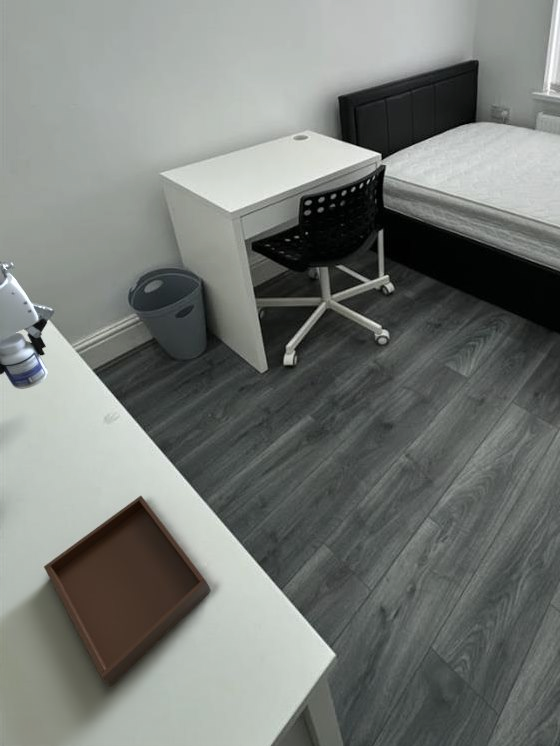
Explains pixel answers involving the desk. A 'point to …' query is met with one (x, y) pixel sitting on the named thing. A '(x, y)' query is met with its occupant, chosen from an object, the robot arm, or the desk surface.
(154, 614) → the tray
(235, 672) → the desk surface
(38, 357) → the pill bottle
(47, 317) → the robot arm
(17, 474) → the desk surface
